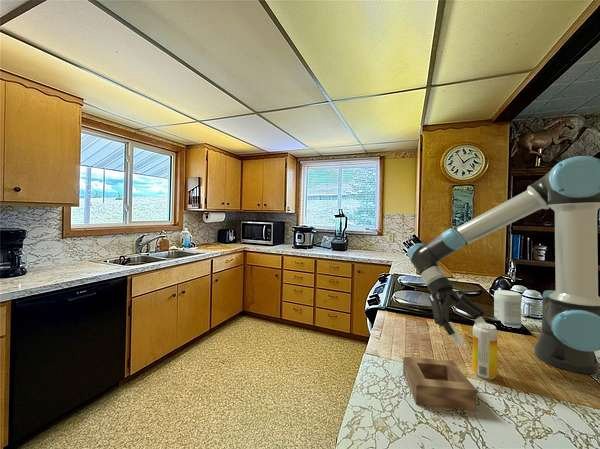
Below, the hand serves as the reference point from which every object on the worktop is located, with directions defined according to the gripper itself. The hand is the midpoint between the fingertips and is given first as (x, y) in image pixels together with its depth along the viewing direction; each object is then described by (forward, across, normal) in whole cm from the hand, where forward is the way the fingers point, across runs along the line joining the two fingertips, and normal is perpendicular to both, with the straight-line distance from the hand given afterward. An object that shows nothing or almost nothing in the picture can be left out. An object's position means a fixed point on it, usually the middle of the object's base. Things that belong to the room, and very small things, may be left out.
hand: (476, 341), depth 82 cm
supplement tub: (-8, -49, -22) cm, 54 cm away
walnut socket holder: (+8, +19, -5) cm, 21 cm away
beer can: (+8, -1, -5) cm, 10 cm away
